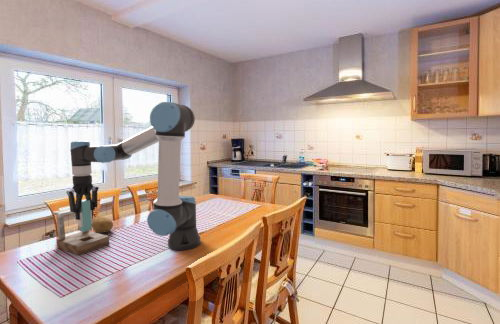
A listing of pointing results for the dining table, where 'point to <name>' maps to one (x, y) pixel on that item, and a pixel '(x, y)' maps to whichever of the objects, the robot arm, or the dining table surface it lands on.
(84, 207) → the peg
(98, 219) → the potato
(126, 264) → the dining table surface
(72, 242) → the socket stand
